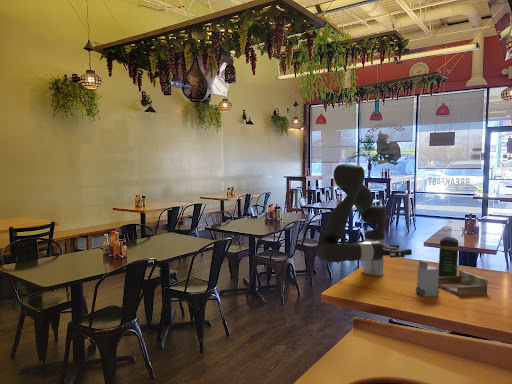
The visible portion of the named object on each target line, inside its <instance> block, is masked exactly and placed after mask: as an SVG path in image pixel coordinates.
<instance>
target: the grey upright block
mask: <svg viewBox="0 0 512 384" xmlns="http://www.w3.org/2000/svg"><path fill="white" fill-rule="evenodd" d="M418 263H419V264H418V266H417V282H416V285H417V286H416V287H415V292H416V293H417V294H420V295H421V296H423V297H435V296H438V295H439V294H440V290H439V287H438V277H440V276H439V267H438V268H437V267H435V266H432V265H428V262H427V261H425V260H422V259H420V260H419V261H418Z"/></svg>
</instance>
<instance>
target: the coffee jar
mask: <svg viewBox="0 0 512 384" xmlns="http://www.w3.org/2000/svg"><path fill="white" fill-rule="evenodd" d="M438 257H439V258H438V269H439V276H438V277H447V276H458V275H457V274H458V260H459V259H458V258H459V240H458V239H457V238H455V237H450V236H445V237H442V238H440V241H439V255H438Z"/></svg>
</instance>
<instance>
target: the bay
mask: <svg viewBox="0 0 512 384" xmlns="http://www.w3.org/2000/svg"><path fill="white" fill-rule="evenodd" d="M458 272H459V274H458V275H457V276H447V277H440V276H438V288H441V289H442V290H445V291H446V292H447V291H448V292H449V293H452V294H453V295H456V296H458V297H467V296H477V295H479V296H480V295H487V294H488V279H487V278H484V277H482V276H480V275H479V276H478V275H476V274H473V273H470V272H467V271H465V270H462V269H461V270H459V271H458Z"/></svg>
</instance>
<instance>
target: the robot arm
mask: <svg viewBox="0 0 512 384" xmlns="http://www.w3.org/2000/svg"><path fill="white" fill-rule="evenodd" d="M365 172H366V171H365V169H364V168H363V166H361V165H356V164H348V163H342V164H338V165H337V166H336V167H335V168H334V170H333V181H334V183H335V185H336V186H337V187H338V188H339V189H340V190H341V191H343V193H345V195H346V196H345V197H344V198H343V199H342V200H341V201H340V202H339V203H338V204H337V205H336V206H335V207H334V209H333V210H332V211H331V212H330V215H329V216H328V220H327V222H326V223H327V224H326V227H325V231H324V233H323V235H322V237H321V238H320V241H319V243H318V245H317V249H316V256H317V257H318V259H319V260H320V261H322V262H326V263H327V262H328V263H340V262H341V263H342V262H357V261H358V262H359V261H360V262H363V267H362V269H363V274H366V275H369V276H374V277H375V276H377V277H378V276H383V275H384V269H385V268H384V266H385V257H389V258H405V256H411V255H412V254H413V251H412V249H411V248H405V249H404V248H403V249H402V248H400V245H399V244H387V243H385V239H386V238H385V236H386V223H387V221H386V220H387V208H386V206H385V205H379V204H373V203H374V196H373V192H372V191H371V190H370V188H369V187H368V186H367V185H365V184H364V181H365V178H366V177H365V175H366V173H365ZM354 207H355V208H356V210H357V211H358V213H359V215H360V217H361V220H362V221H363V222H364V223H365V224H368V225H376V227H375V228H373V229H370V230H366V231H365V232H364V241H357V242H346V243H338V242H339V240H341V239H342V238H343V237H344V234H345V230H346V227H347V223H348V220H349V217H350V215H351V211H352V210H353V208H354Z"/></svg>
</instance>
